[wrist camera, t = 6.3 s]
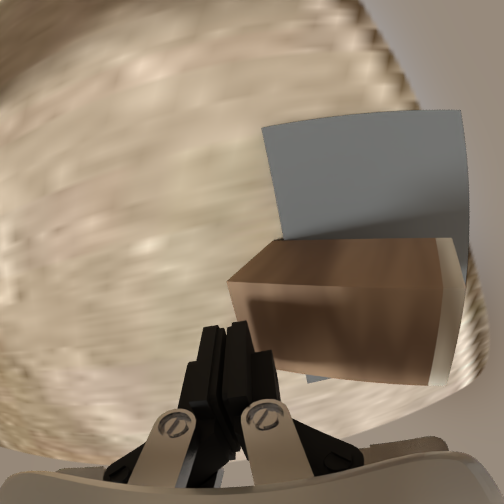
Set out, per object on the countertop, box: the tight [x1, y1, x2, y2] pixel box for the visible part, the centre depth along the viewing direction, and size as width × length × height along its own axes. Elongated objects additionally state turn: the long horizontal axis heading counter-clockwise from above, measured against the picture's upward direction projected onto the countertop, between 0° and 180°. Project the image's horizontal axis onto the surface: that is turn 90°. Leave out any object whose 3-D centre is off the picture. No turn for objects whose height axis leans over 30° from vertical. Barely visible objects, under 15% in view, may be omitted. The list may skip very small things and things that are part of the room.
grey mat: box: [262, 110, 469, 383], centre depth 16 cm, size 16×12×1 cm
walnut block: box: [227, 238, 466, 386], centre depth 13 cm, size 4×4×9 cm
